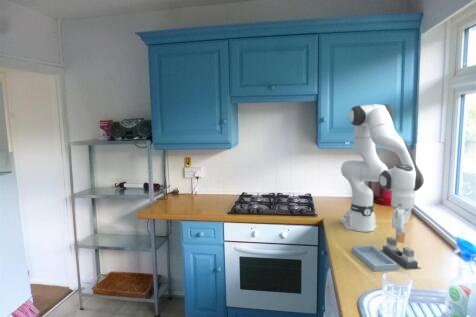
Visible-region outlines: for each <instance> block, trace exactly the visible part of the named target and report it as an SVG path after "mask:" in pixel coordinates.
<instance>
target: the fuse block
mask: <svg viewBox="0 0 476 317" xmlns="http://www.w3.org/2000/svg"><path fill="white" fill-rule="evenodd" d="M379 251H381V252H382V253H383V254H385V255H386V256H387V257H389V258H390V259H391V260H393V261H394V262H395V263H397V264H398V266H400V267H401V268H402V269H404V270H406V271H408V270H409V271H410V270H421V269H422V268H421V267H420V266H419V265H418V263H419V262H418V261H416V260H415V259H414V260H413V262H407V261H406V260H404V259H403V258H402V253H403V250H402V251H401V250H400V249H398V248H397V249H396V250H390V249H389V248H387V245H383V246H382V249H379Z"/></svg>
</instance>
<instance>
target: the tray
mask: <svg viewBox="0 0 476 317" xmlns="http://www.w3.org/2000/svg"><path fill="white" fill-rule="evenodd" d="M351 252H352V253H353V255H355V256H356V257H357V258H358V259H360V260H361V262H362V263H364V264H365V265H366V266H367V267H369V269H371V271H373V272H375V273H377V272H393V271H398V269H399V268H398V267H399V265H398V264H397V263H396V262H394V261H393V260H392V259H390V258H389V257H388V256H386V255H385V254H384V253H382V252H381V251H380V249H378V248H376V247H375V246H374V245H354V246H351Z"/></svg>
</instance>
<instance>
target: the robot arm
mask: <svg viewBox="0 0 476 317" xmlns="http://www.w3.org/2000/svg"><path fill="white" fill-rule="evenodd" d="M394 115H395V114H394V109H393V107H392V106H391V105H390V104H385V103H383V104H379V103H376V104H374V103H373V104H364V105H356V106H353V107H351V109H350V110H349V114H348V117H349V118H348V119H349V122H350V124H351V125H353V126H354V132H353V150H354V152H355V153H356V154H358V155H359V156H361V157H362V159H363V160H353V159H352V160H346V161H344V162H343V163H342V165H341V166H340V172H341V175H342V176H343V177H344V178H345V179H346V180H347V181H348V183H349V185H350V187H351V193H352V194H351V195H352V196H351V197H352V198H351V199H352V202H351V203H350V209H348V210H347V211H346V212H344V215H343V218H342V219H340V223H341V224H342V223H343V224H342V226H344V228H345V229H347V230H352V231H357V232H362V233H363V232H364V233H369V232H374V231H375V230H376V229H377V228H378V225H377V224H376V213H375V212H374V211H375V210H374V209H375V207H374V206H375V205H374V191H373V190H372V188H370V187H368V185H366V184H365V182H374V183H378V182H379V186H380V187H381V188H382V189H384V190H385V191H391V197H390V198H391V200H390V201H391V202H390V205H391V207H393V212H392V221H391V228H392V229H395V231H396V230H397V235H399V236H401V235H402V227H403V226H405V227H406V224H407V222H408V220H409V219H410V217H411V215H412V211H413V210H412V209H414V207H415V192H416V191H419V190H420V189H421V188H422V186H423V185H424V182H425V180H424V179H425V178H424V176H423V174H422V172H421V170H420V169H419V167H418V166H417V163H416V161H415V158H414V157H413V154H412V153H411V150H410V148H409V145H408V144H407V142H406V140H405V139H404V138H403V137H401V136H400V135H399V134H398V132H397V131H396V129H395V126H394V122H393V119H394ZM376 146H378V147H379V148H382V149H385V150H388V151H392V152H393V153H395V154H396V155H397V156H398V157H399V160H400V162H401V163H400V164H395V165H394V167H392V168H390V169H389V167H388V166H387V165H386V164H385V163H384V162H383V161H381V159H380V157H379V156H378V153H377V149H376ZM344 219H345V220H344Z"/></svg>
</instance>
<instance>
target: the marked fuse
mask: <svg viewBox="0 0 476 317" xmlns="http://www.w3.org/2000/svg"><path fill="white" fill-rule="evenodd" d="M406 230H407V228H406V225H405V226H403V227H402V235H401V236H399V235H397V230H396V229H395V238H394V239H396V240H397V243H400V244H405V239H406V238H405V237H406Z"/></svg>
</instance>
